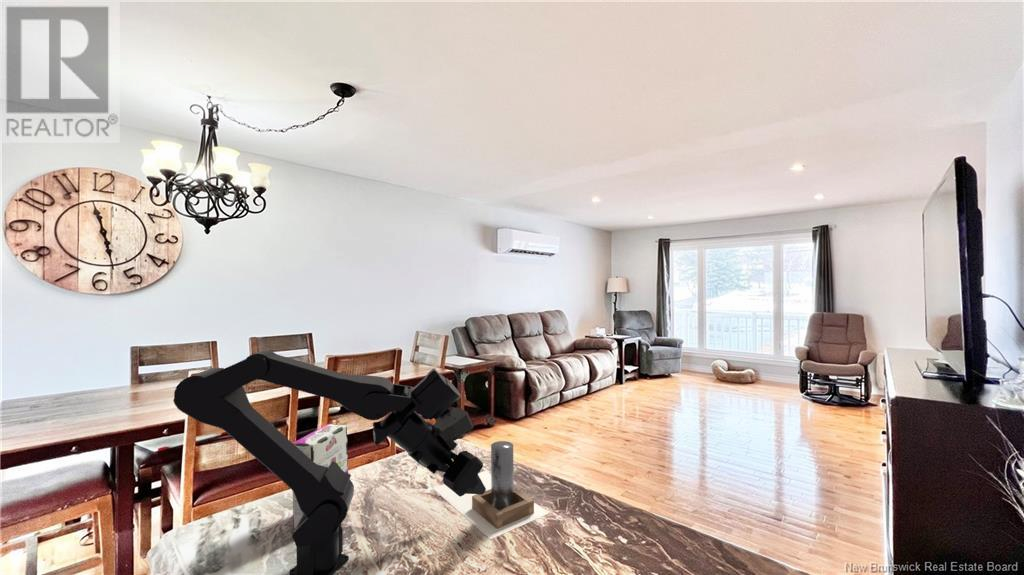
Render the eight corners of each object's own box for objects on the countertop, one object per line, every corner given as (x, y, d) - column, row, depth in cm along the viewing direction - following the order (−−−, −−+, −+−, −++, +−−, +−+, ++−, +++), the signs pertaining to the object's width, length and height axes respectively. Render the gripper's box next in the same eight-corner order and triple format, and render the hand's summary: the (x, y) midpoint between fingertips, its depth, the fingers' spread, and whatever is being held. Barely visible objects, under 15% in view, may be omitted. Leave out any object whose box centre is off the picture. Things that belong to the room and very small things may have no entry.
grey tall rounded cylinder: (508, 518, 79) (508, 451, 79) (487, 514, 81) (487, 447, 81) (516, 507, 83) (516, 442, 83) (496, 503, 85) (496, 439, 85)
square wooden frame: (534, 513, 81) (533, 500, 81) (497, 529, 76) (497, 515, 76) (507, 494, 88) (507, 483, 88) (472, 508, 83) (472, 495, 83)
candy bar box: (328, 499, 89) (327, 422, 89) (349, 501, 88) (348, 424, 88) (290, 529, 78) (289, 442, 78) (314, 532, 77) (313, 444, 77)
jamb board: (549, 517, 81) (549, 512, 81) (490, 544, 73) (490, 539, 73) (485, 474, 100) (485, 470, 100) (432, 492, 91) (432, 488, 91)
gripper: (473, 410, 67) (525, 461, 74) (423, 387, 82) (470, 431, 89) (428, 471, 62) (488, 519, 69) (383, 435, 77) (437, 478, 84)
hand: (470, 481), depth 78 cm, fingers open, 9 cm apart
